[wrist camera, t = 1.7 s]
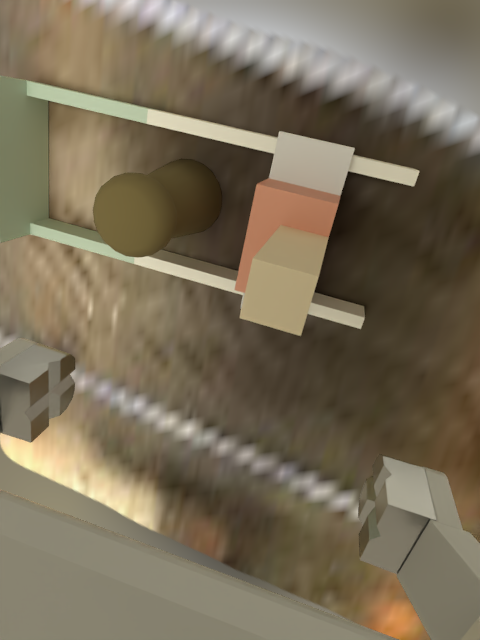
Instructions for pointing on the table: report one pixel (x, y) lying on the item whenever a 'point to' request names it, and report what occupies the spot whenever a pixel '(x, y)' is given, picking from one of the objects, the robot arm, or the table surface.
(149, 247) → the olive rounded upright piece
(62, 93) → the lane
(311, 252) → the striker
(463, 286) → the table surface
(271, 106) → the table surface
